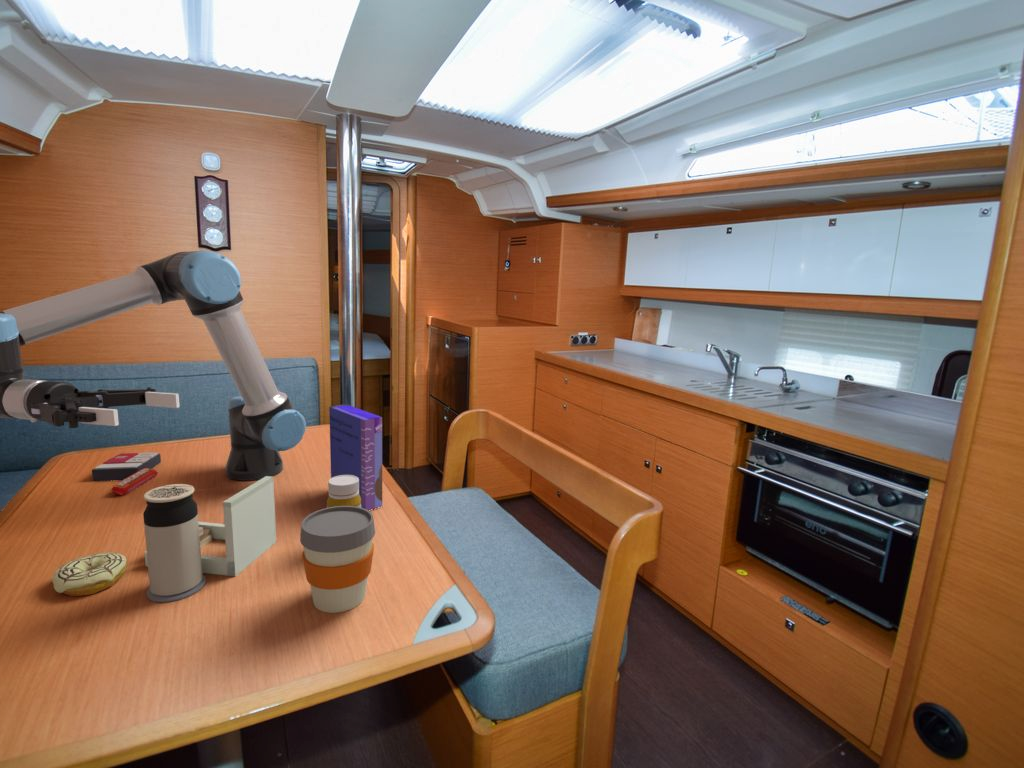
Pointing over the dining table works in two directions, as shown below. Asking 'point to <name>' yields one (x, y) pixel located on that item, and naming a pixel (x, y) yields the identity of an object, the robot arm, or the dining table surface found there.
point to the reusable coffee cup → (338, 556)
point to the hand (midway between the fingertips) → (149, 408)
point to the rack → (242, 529)
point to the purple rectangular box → (357, 450)
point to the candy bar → (134, 481)
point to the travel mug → (172, 539)
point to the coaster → (177, 596)
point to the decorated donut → (89, 574)
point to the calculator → (125, 466)
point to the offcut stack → (204, 536)
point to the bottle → (344, 491)
